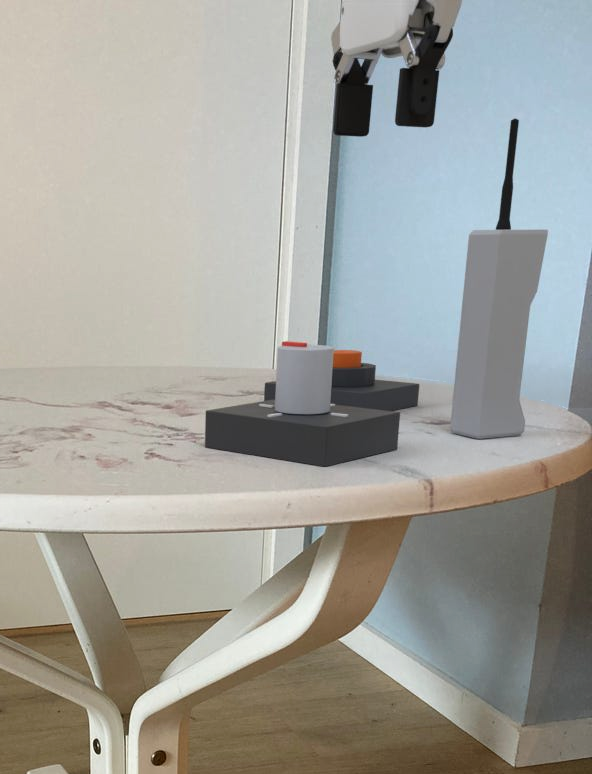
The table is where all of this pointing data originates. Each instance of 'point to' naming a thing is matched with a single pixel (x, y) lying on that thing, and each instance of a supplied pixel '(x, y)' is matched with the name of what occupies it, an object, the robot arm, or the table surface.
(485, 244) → the vintage mobile phone
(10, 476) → the table surface
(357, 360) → the button
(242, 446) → the timer panel
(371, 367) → the block
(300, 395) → the timer knob
